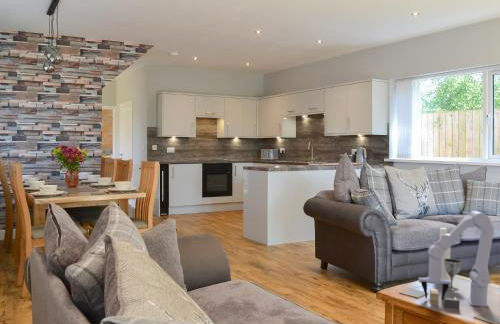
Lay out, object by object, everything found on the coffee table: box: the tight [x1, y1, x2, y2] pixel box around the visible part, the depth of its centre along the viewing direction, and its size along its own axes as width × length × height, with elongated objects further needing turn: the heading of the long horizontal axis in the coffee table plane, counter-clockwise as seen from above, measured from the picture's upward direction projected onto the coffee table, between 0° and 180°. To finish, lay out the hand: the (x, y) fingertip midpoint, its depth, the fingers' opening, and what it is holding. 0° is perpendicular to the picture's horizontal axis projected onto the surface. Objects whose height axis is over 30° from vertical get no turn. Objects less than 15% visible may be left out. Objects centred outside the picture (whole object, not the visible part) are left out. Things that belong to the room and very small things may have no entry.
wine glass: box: [444, 258, 462, 292], centre depth 247 cm, size 8×8×15 cm
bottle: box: [439, 227, 452, 281], centre depth 258 cm, size 8×8×30 cm
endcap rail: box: [441, 296, 460, 312], centre depth 222 cm, size 16×6×5 cm, turn 162°
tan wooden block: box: [429, 288, 440, 306], centre depth 226 cm, size 9×3×5 cm, turn 163°
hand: (434, 298), depth 226 cm, fingers open, 7 cm apart
